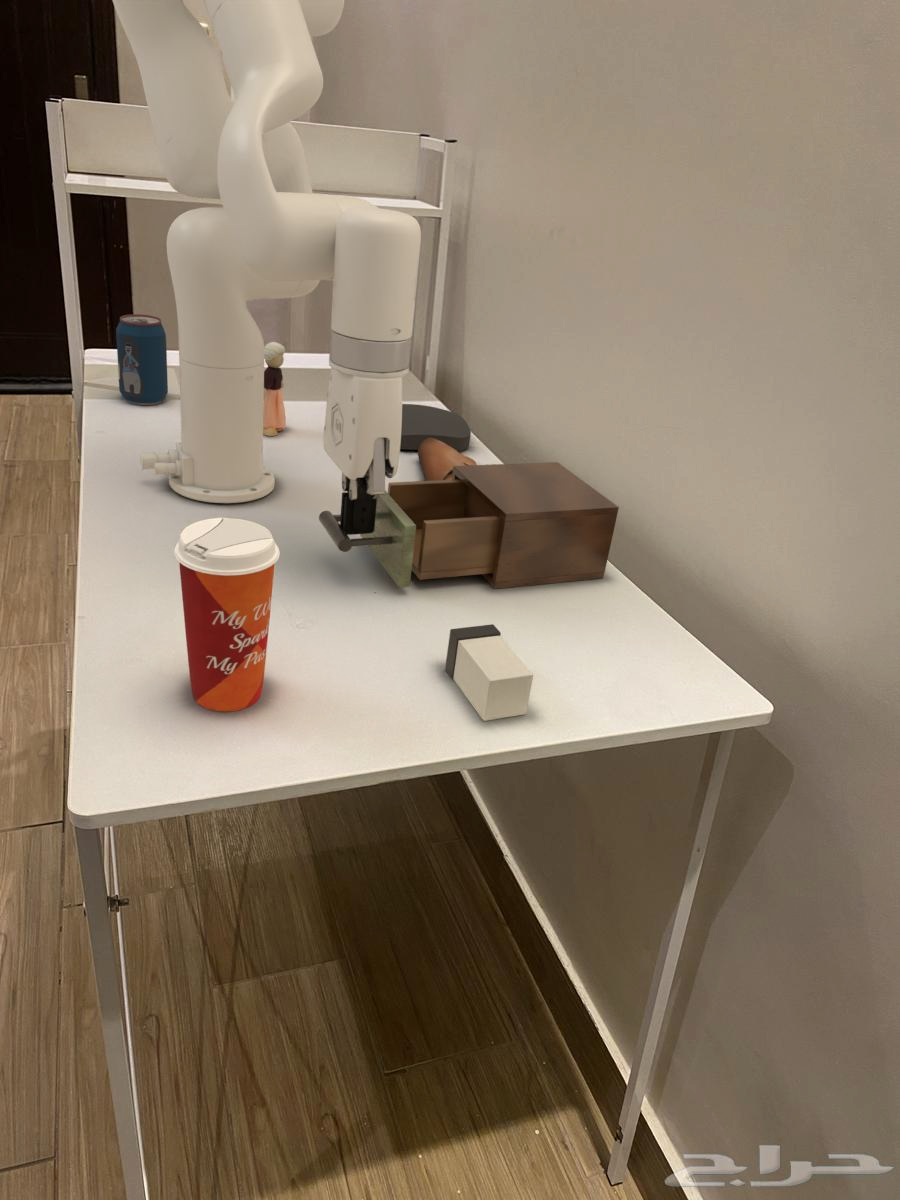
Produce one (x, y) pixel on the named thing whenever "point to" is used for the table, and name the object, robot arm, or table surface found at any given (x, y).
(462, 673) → the eraser
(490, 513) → the drawer
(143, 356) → the soda can
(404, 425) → the media streaming box
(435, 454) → the sunglasses case
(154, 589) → the table surface
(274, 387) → the grandmother figurine
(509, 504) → the cabinet
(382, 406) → the robot arm
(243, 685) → the paper cup
